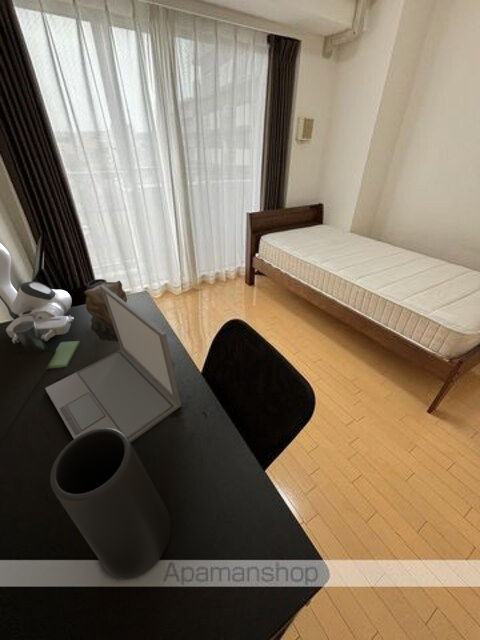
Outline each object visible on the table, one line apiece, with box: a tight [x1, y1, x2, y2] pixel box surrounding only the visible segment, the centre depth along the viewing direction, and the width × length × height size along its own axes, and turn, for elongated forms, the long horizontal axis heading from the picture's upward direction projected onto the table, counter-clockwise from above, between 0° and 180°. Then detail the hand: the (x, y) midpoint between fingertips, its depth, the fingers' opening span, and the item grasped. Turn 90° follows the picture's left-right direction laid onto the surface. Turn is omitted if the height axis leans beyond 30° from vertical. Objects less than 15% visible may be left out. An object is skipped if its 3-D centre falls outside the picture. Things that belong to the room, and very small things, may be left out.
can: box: [13, 321, 49, 357], centre depth 99 cm, size 6×6×12 cm
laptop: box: [44, 285, 182, 444], centre depth 77 cm, size 35×26×27 cm
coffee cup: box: [86, 278, 108, 290], centre depth 118 cm, size 8×8×15 cm
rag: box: [45, 340, 81, 370], centre depth 101 cm, size 7×13×1 cm, turn 6°
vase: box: [49, 428, 172, 580], centre depth 49 cm, size 14×14×29 cm
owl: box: [83, 280, 128, 342], centre depth 106 cm, size 13×13×20 cm
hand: (29, 340), depth 98 cm, fingers open, 8 cm apart
